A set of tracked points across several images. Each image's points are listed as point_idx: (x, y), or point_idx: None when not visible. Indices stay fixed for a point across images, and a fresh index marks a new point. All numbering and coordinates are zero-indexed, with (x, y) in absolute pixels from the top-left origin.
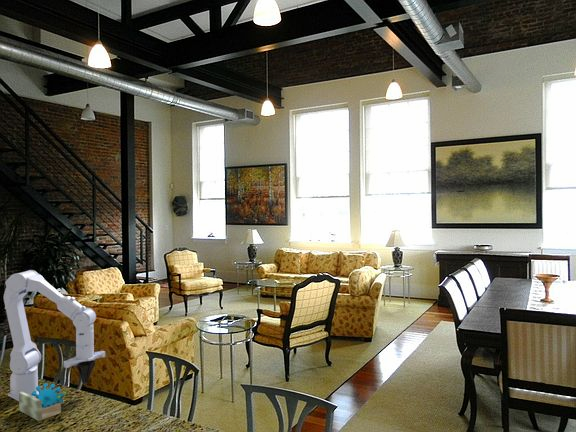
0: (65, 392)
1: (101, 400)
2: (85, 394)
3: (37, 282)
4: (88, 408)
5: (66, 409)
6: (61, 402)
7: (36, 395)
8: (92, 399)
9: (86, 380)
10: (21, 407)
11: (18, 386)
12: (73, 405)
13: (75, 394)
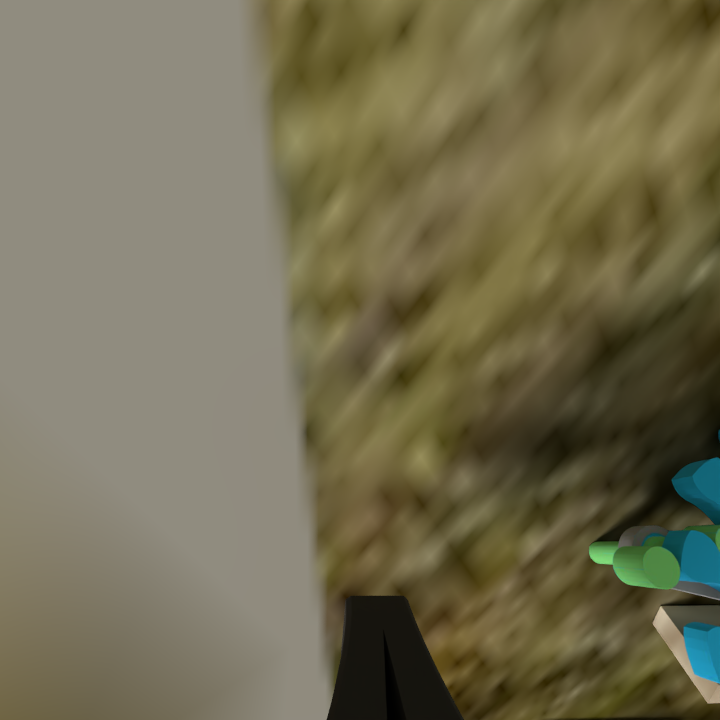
0: (657, 569)
1: (354, 211)
2: (345, 509)
3: None
4: (611, 133)
5: (706, 345)
6: (712, 461)
7: None
8: (393, 339)
9: (395, 626)
10: None
11: None
12: (601, 373)
13: (397, 574)
